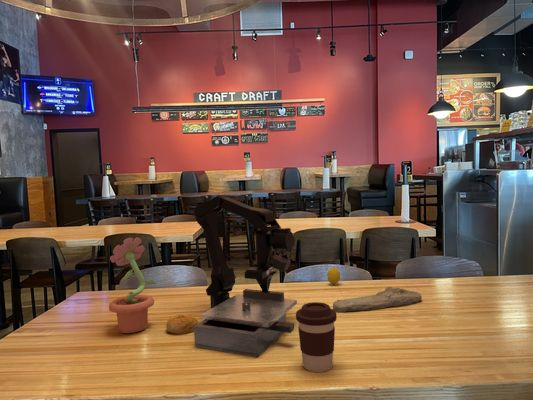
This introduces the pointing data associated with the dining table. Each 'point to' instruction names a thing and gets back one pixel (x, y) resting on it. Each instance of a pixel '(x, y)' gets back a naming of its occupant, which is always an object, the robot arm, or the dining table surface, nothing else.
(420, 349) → the dining table surface
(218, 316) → the lid
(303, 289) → the dining table surface
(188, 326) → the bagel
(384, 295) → the elongated rock
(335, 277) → the lemon
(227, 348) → the grey metal box
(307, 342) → the coffee cup
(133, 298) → the decorative flower
